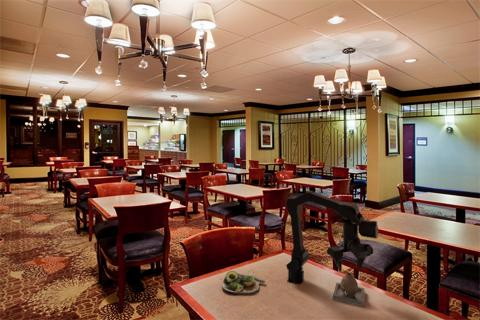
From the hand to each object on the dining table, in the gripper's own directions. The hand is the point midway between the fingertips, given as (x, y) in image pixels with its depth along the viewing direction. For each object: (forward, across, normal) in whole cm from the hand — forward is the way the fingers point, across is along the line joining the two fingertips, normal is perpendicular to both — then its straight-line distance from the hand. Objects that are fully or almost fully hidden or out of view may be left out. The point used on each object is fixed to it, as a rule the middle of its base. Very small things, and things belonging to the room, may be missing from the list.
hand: (349, 270), depth 119 cm
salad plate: (+12, -42, +21) cm, 49 cm away
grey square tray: (+11, 0, 0) cm, 11 cm away
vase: (+10, 0, 0) cm, 11 cm away
